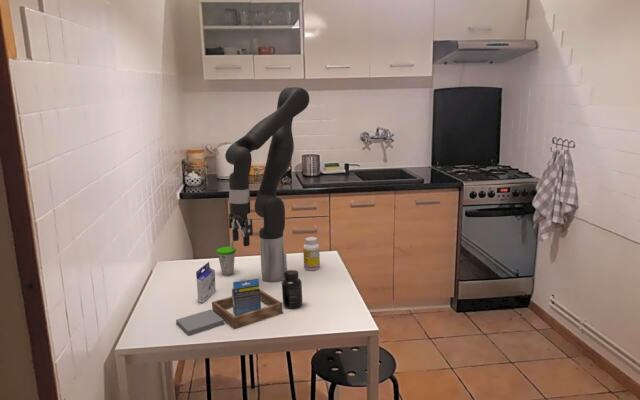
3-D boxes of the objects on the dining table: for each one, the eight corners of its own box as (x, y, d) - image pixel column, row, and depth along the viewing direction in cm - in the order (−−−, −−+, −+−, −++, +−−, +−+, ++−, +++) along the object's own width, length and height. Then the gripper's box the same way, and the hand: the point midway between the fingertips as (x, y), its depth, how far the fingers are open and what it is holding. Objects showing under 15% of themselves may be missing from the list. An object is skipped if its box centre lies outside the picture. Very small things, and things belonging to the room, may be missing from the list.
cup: (213, 275, 204) (211, 239, 201) (227, 269, 211) (224, 234, 208) (228, 278, 200) (226, 242, 197) (241, 272, 207) (239, 237, 203)
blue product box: (259, 307, 173) (257, 274, 171) (261, 312, 170) (259, 278, 167) (233, 312, 171) (230, 277, 168) (235, 317, 167) (232, 282, 164)
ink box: (203, 303, 178) (201, 272, 176) (197, 303, 179) (195, 272, 176) (216, 290, 189) (214, 261, 187) (210, 290, 190) (208, 261, 187)
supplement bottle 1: (305, 302, 177) (304, 269, 174) (298, 310, 171) (297, 276, 168) (287, 299, 179) (285, 268, 176) (279, 307, 173) (278, 275, 170)
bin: (258, 297, 182) (258, 288, 181) (282, 312, 169) (282, 303, 168) (212, 311, 171) (211, 302, 170) (234, 328, 159) (233, 318, 158)
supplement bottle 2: (302, 266, 212) (301, 236, 209) (317, 264, 213) (317, 235, 210) (305, 271, 205) (304, 241, 203) (321, 269, 207) (320, 239, 204)
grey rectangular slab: (211, 313, 170) (210, 309, 170) (224, 324, 162) (223, 319, 162) (176, 323, 163) (176, 319, 163) (188, 335, 155) (188, 331, 155)
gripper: (258, 202, 182) (259, 246, 185) (239, 196, 193) (241, 237, 196) (239, 205, 177) (240, 249, 180) (221, 198, 188) (223, 240, 192)
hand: (241, 243), depth 188 cm, fingers open, 8 cm apart
